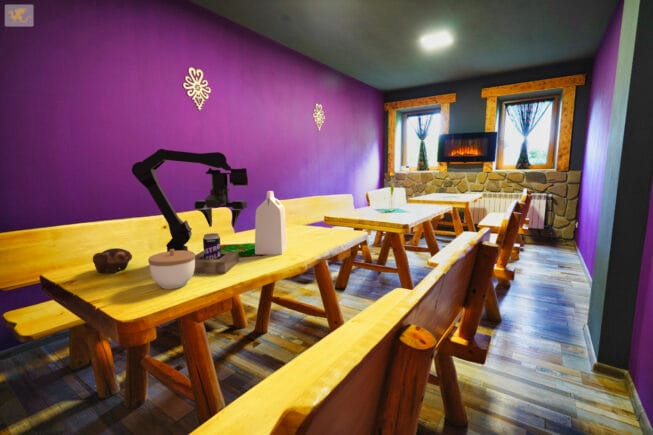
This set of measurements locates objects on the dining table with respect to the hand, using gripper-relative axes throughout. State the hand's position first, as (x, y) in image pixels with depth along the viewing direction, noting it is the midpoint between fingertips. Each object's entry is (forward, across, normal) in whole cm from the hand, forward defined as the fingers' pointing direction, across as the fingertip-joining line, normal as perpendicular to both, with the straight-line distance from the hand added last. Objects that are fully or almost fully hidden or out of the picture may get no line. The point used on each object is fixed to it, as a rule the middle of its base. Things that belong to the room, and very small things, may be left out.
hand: (222, 226), depth 116 cm
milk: (+13, +15, +15) cm, 25 cm away
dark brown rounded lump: (+13, -33, -16) cm, 39 cm away
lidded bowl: (+13, -4, -27) cm, 30 cm away
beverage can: (+13, 0, -10) cm, 16 cm away
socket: (+13, 0, -10) cm, 16 cm away
